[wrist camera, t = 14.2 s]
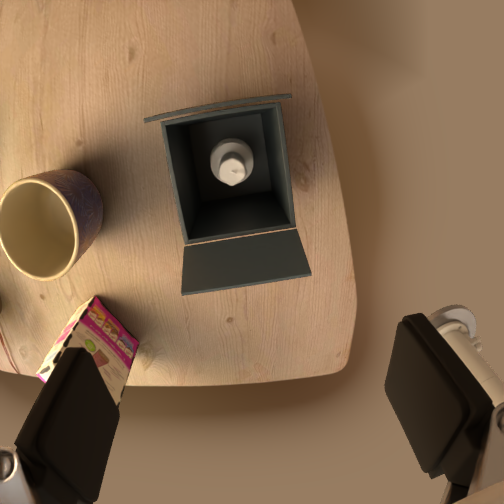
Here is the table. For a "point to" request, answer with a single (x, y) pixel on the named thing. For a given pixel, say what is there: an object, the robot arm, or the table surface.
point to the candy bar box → (96, 345)
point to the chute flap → (243, 262)
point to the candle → (231, 161)
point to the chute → (221, 194)
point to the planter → (49, 222)
